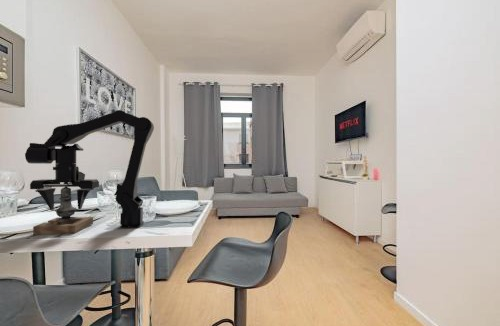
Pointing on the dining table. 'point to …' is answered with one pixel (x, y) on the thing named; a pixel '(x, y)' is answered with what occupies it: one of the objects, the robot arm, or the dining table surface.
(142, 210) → the robot arm
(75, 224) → the wooden tray
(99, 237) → the dining table surface
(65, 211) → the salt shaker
